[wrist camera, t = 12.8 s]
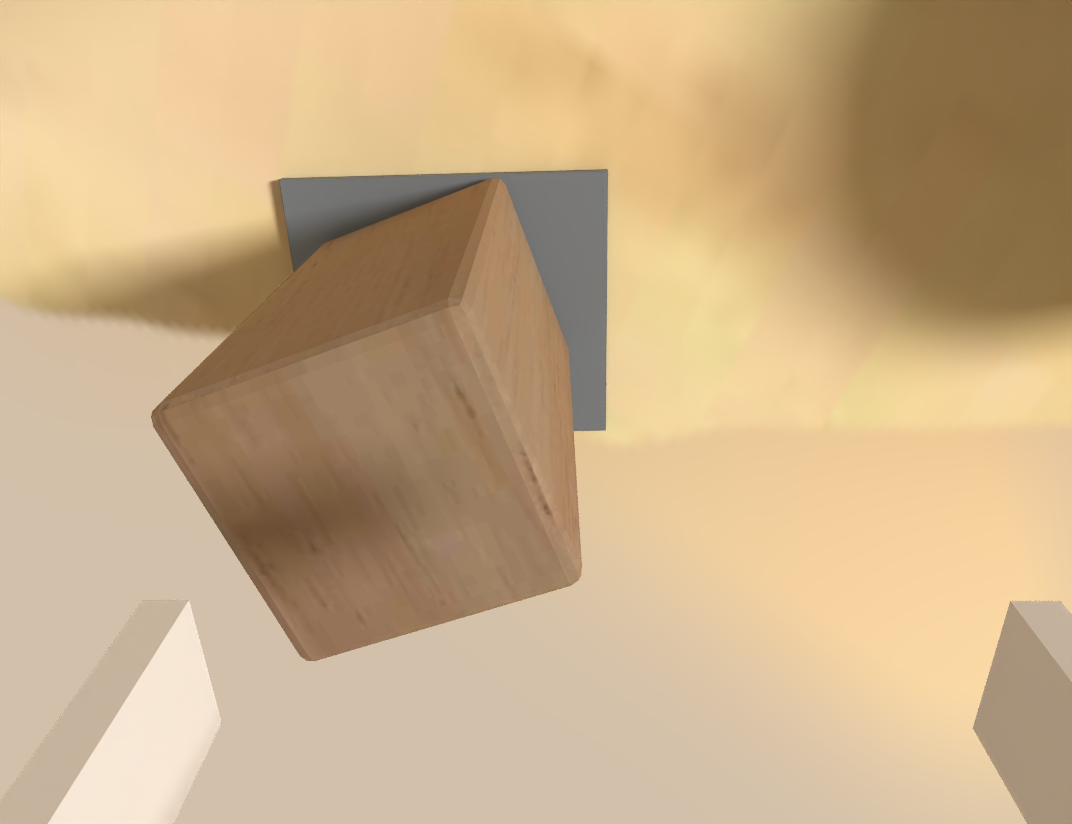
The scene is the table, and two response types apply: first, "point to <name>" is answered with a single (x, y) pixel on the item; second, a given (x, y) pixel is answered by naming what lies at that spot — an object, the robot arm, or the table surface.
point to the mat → (550, 229)
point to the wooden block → (392, 430)
